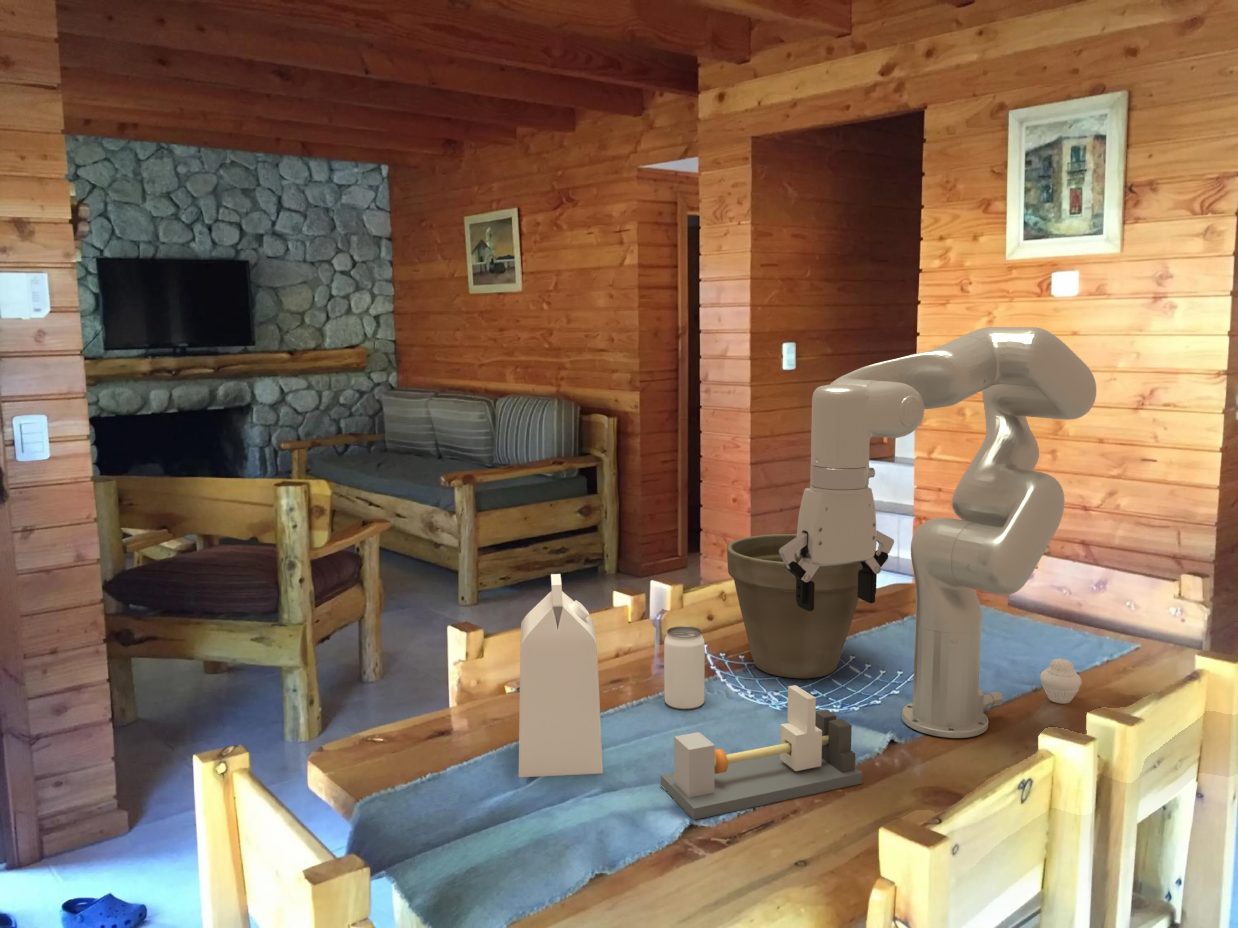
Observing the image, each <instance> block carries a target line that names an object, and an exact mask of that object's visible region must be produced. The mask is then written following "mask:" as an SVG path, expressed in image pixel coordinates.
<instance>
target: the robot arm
mask: <svg viewBox="0 0 1238 928" xmlns="http://www.w3.org/2000/svg"><path fill="white" fill-rule="evenodd" d="M980 392H981V393H982V395H981V396H982V402H983V410H984V417H985V418H984V419H985V437H984V440H983V441H982V443H981V446H980V447H979V449H978V451H977V452H976V454H975V456H974V457H973V459H972V460H971V462H970V464H969V465H968V467H967V469H966V470H965V472H964V473H963V475H962V477H961V478H960V480H959V481H958V483H957V484H956V487H955V489H954V490H953V491H954V492H953V494H952V497H951V507H952V510H953V513H954V514H955V515H956V516H957V517H958V518H959V519H956V518H953V517H952V518H951V517H950V518H949V517H936V518H935V517H934V518H931V519H930V518H929V519H928V520H926V521H923V523H920V525H919V526H918V527H917V528H916V530H915V531H914V533H913V535H912V539H911V542H910V558H911V559H910V561H911V564H912V565H911V566H912V570H913V577H914V583H915V625H914V648H913V649H914V651H913V652H914V653H913V677H912V678H913V680H912V681H913V683H912V702H910V703H908V704H906V705H905V706H903V708H902V709H901V719H902V721H903V723H904V724H905V725H906V726H908V727H910V728H911V729H913V730H914V731H915V730H916V731H917V732H920V733H922V734H926V735H930V736H933V737H939V738H949V739H964V738H965V739H966V738H973V737H976V736H979V735H981V734H983V733H984V732H985V733H986V731H987V730H988V728H989V719H988V716H987V715H986V713H984V710H986V709H988V707H994V706H998V705H999V706H1000V705H1002V704H1003V702H1004V697H1003V695H1002V694H1001V693H1000V692H999V691H994V692H989V693H986V694H985V692H984V691H983V689H980V675H981V674H980V671H981V670H980V669H981V649H982V648H981V647H982V630H983V629H982V628H983V613H982V607H981V603H980V600H979V597H978V595H977V593H976V590H977V591H980V592H985V593H989V594H993V595H994V594H995V595H999V596H1010V595H1012V594H1015V593H1017V592H1019V591H1020V590H1021V589H1023V587H1024V586H1025V585H1026V584H1027V582H1028V581H1029V579H1030V578H1031V576H1032V574H1033V572H1034V570H1035V569H1036V567H1037V565H1038V564H1039V562H1040V560H1041V559H1042V557H1043V555H1044V554H1045V552H1046V550H1047V548H1048V546H1049V545H1050V543H1051V541H1052V539H1053V537H1054V536H1055V534H1056V532H1057V530H1058V529H1059V527H1060V524H1061V521H1062V519H1063V515H1064V512H1065V494H1064V489H1063V487H1062V485H1061V483H1060V482H1059V481H1058V480H1057V479H1056V477H1054V476H1052V475H1050V474H1048V473H1046V472H1043V471H1037V470H1034V469H1035V468H1036V466H1037V464H1038V462H1039V458H1040V447H1039V445H1038V441H1037V439H1036V437H1035V435H1034V433H1033V431H1032V430H1031V427H1030V425H1029V422H1028V420H1027V417H1030V418H1039V419H1040V418H1041V419H1054V420H1066V421H1067V420H1076V419H1077V420H1078V419H1079V418H1082V417H1084V416H1085V415H1087V414H1088V413H1089V412H1090V411H1091V409H1092V408H1093V406H1094V404H1095V401H1096V398H1097V383H1096V379H1095V376H1094V374H1093V372H1092V371H1091V369H1090V368H1089V366H1088V365H1087V364H1086V363H1085V362H1084V361H1083V360H1082V359H1081V358H1080V357H1079V356H1078V355H1077V354H1076V353H1075V352H1074V351H1073V350H1072V349H1071V348H1070V347H1069V346H1068V345H1067V344H1066V343H1065V342H1063V341H1062V340H1061V339H1060V338H1058V336H1056V335H1055V334H1053V333H1051V332H1050V331H1048V330H1046V329H1044V328H1041V327H1036V326H1035V327H1033V326H1032V327H1031V326H1027V327H1026V326H1017V327H1016V326H987V327H982V328H978V329H976V330H972V331H970V332H969V333H966V334H964V335H961V336H960V337H957V338H955V339H953V340H950V341H949V342H946V343H945V344H944V343H943V344H941V345H939V346H938V347H935V348H934V349H931V350H930V349H929V350H927V351H924V352H923V351H922V352H917V353H914V354H909V355H906V356H902V357H898V358H895V359H894V358H893V359H889V360H885V361H880V362H877V363H873V364H869V365H865V366H862V367H860V368H857V369H855V370H852V371H851V372H848V373H845V374H844V375H841V376H840V377H838V378H836V379H835V380H833V381H832V382H830V383H829V384H826V385H821V386H817V387H816V389H815V390H814V391H813V394H812V397H811V398H812V399H811V429H810V431H811V433H810V435H811V437H810V439H811V440H810V473H809V474H810V480H809V484H810V485H809V487H806V488H804V489H803V494H802V497H801V502H800V507H799V513H798V520H797V529H796V534H797V537H796V538H794V539H793V540H791V541H790V542H789V543H787V544H786V545H784V546H783V547H781V548H780V549H779V554H780V556H781V558H782V560H783V562H784V563H785V567H786V568H787V569H788V570H789V571H790V572H791V573H792V575H793V577H795V578H796V601H797V605H798V606H799V607H801V608H803V609H805V610H807V611H813V610H814V588H815V584H814V582H813V581H811V578H812V577H813V575H814V574H815V572H816V571H817V569H818V568H819V566H830V565H840V564H849V563H857V562H858V563H859V564H860V565H861V567H862V569H860V570H859V572H858V598H859V600H862V601H864V602H866V603H869V604H875V602H876V594H877V577H878V576H877V575H878V574H880V573H881V572H882V566H883V565H884V564H885V563H886V562H887V561H888V559H889V554H890V552H891V551H892V548H893V547H894V544H895V540H894V539H893V538H892V537H890V536H888V535H886V534H884V532H881V531H879V530H877V517H876V506H875V498H874V493H873V490H872V488H871V487H869V484H870V482H869V481H870V478H874V477H875V476H876V470H875V468H874V467H870V440H871V438H874V437H875V438H889V439H897V438H902V437H903V438H904V437H905V436H909V435H910V434H912V433H913V432H914V431H916V430H917V429H918V428H919V426H920V425H921V423H922V421H923V419H924V415H925V410H930V409H939V408H940V409H941V408H945V407H951V406H954V405H957V404H959V403H961V402H963V401H965V400H967V399H968V398H970V397H972V396H974V395H976V394H979V393H980ZM877 543H878V545H877ZM877 546H878V547H877ZM795 553H796V554H797V557H798V558H800V559H801V560H800V561H799V563H797V562H796V560H795V557H794V555H795Z"/></svg>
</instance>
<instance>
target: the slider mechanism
mask: <svg viewBox="0 0 1238 928" xmlns="http://www.w3.org/2000/svg"><path fill="white" fill-rule="evenodd" d="M815 726H816V727H817V728H819V729H820V730H822V757H821V766H819V767H814V768H809V769H804V770H799V771H795V770H793V769H792V768H791V767H789V766H788V765H787V764H786V763H784V762H783V761H782V760H780V754H782V753H787V752H792V744H791V743H785V744H780V743H779V744H775V745H771V746H764V747H761V748H755V749H749V750H745V751H744V750H743V751H738V752H733V753H729V754H726V752H725V751H724V749H722V748H717V749H716V747H715V746H716V745H715V744H714V743H713V742H712V741H711V740H709V739H708V738H707V737H705V736H704V735H703V734H702V732H698V731H697V732H692V733H687V734H683V735H682V734H681V735H676V736H674V737H673V739H674V740H673V741H674V742H673V743H674V744H673V745H674V747H673V749H674V752H673V753H674V754H673V755H674V756H673V757H674V760H673V761H674V768H673V769H674V771H673V772H669V773H664V774H660V786H661V785H662V786H663V787H664V788H665V789H666V790H667V791H668V792H669V793H670V794H671V796H672V797H673V798H672V797H671V796H670V797H671V798H672V799H673V800H674V799H675V800H674V801H675V802H676V803H677V804H678V805H679V806H680V807H681V808H682V809H683V811H685V813H687V815H688V816H689V817H690V818H692V820H694V821H695V820H700V819H703V818H708V817H709V818H710V817H712V816H713V817H714V816H718V815H721V814H722V815H723V814H726V813H732V812H737V811H740V810H746V809H751V808H754V807H760V806H764V805H769V804H773V803H778V802H783V801H787V800H792V799H797V798H801V797H802V798H803V797H806V796H810V795H815V794H819V793H825V792H829V791H833V790H834V791H835V790H837V789H842V788H848V787H852V786H857V785H861V784H863V772H862V771H861V770H859V769H858V768H856V753H855V752H854V751H853V750H852V735H853V733H852V728H853V726H852V724H851V723H850V722H848V721H846V720H845V719H843V718H838V719H837V715H836V714H835V713H834V712H832V711H830V710H829V709H825V708H824V709H820V710H816V716H815ZM662 786H661V787H662ZM663 787H662V788H663ZM664 788H663V789H664ZM665 789H664V790H665Z"/></svg>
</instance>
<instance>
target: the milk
mask: <svg viewBox="0 0 1238 928" xmlns="http://www.w3.org/2000/svg"><path fill="white" fill-rule="evenodd" d="M550 581H551V583H550V585H551V591H550V592H549V593H547V595H546V596H545V597H543V598H542V599H541V600H540V601H539V602H538V603H537V604H536V605H535V606H534V607H533V608H532V609H530V611H529V612H528V613H527V614H526V615H525V617H524V618H523V619H522V620H521V622H520V645H519V646H520V648H519V650H520V651H519V652H520V656H519V657H520V658H519V659H520V661H519V663H520V664H519V717H518V718H519V719H518V722H519V723H518V725H519V727H518V731H519V733H518V736H519V737H518V778H529V777H530V778H531V777H534V778H535V777H553V776H572V775H573V776H574V775H577V776H578V775H593V774H594V775H596V774H598V775H599V774H604V771H603V770H604V769H603V751H602V750H603V749H602V748H603V747H602V745H603V744H602V728H601V706H600V701H601V700H600V686H599V685H600V683H599V682H600V680H599V667H598V666H599V661H598V644H597V642H598V641H597V635H596V629H595V624H594V620H593V618H592V617H591V616H590V613H589V611H588V609H587V608H586V607H585V606H584V605H583V604H582V603H581V602H579V601H578V600H573V599H572V598H571V597H570V596H568V595H567V594H566V593H565V592H564V591H563V588H562V586H563V585H562V577H561V573H556V574H555V573H551V574H550Z"/></svg>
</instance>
